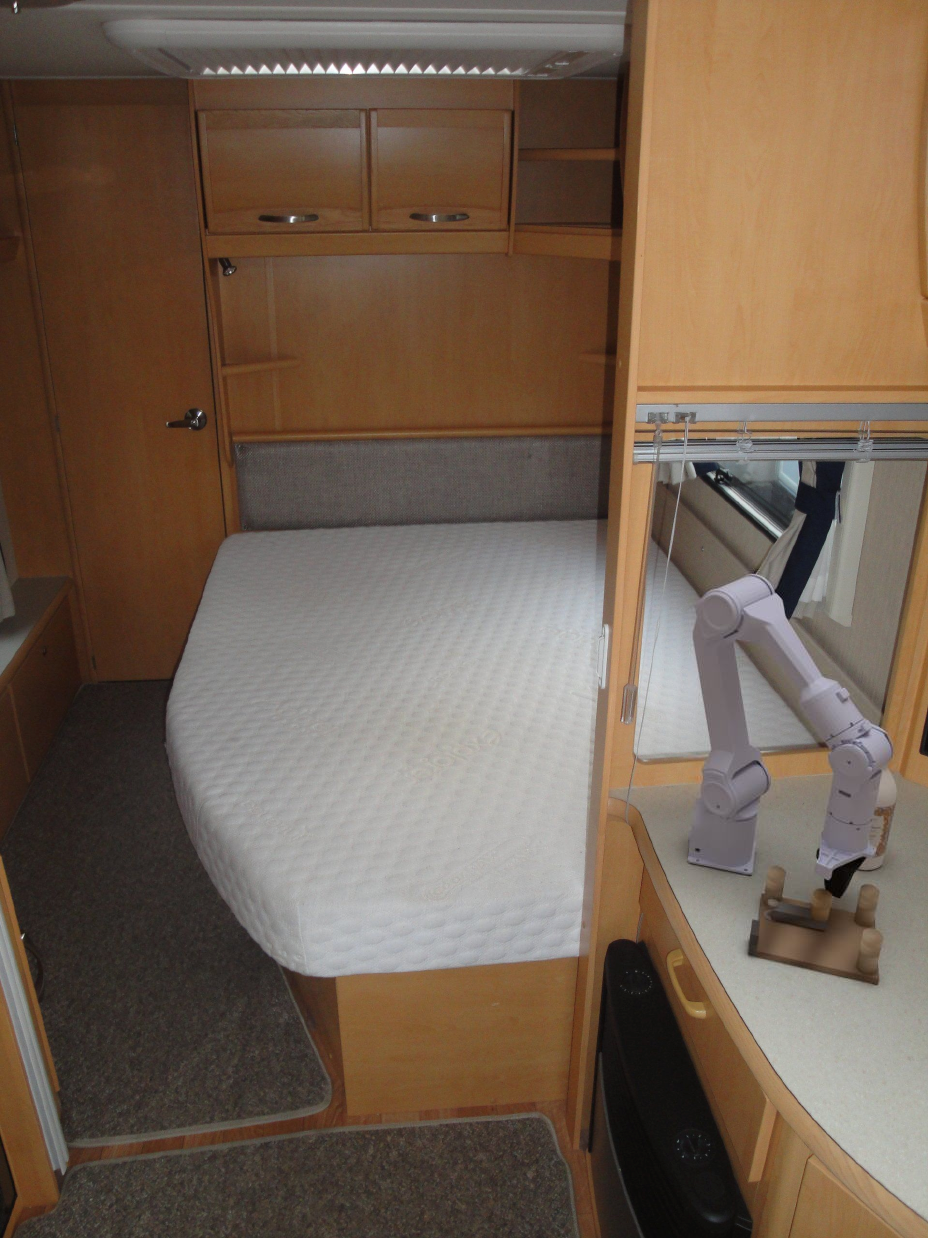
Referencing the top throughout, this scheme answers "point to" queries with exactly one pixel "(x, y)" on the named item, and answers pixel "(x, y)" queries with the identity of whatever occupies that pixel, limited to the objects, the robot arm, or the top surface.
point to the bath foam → (882, 819)
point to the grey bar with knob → (804, 911)
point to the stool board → (820, 935)
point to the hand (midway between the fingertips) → (834, 893)
